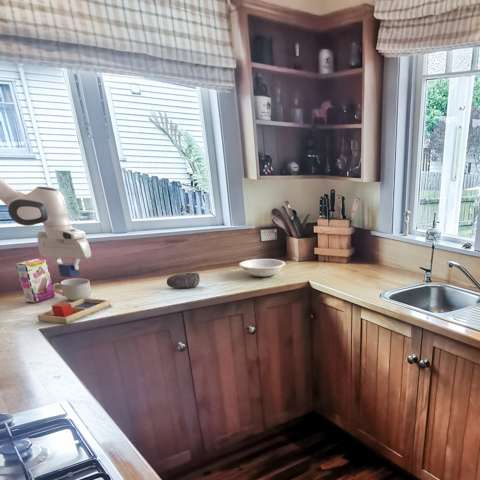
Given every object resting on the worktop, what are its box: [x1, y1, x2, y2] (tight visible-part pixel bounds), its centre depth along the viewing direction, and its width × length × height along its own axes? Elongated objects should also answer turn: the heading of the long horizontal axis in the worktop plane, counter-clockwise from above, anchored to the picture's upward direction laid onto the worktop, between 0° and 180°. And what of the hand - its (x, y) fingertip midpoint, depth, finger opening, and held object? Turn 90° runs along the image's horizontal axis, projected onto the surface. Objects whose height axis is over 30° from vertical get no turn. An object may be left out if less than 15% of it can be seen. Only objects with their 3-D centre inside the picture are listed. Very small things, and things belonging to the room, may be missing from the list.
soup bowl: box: [238, 258, 286, 278], centre depth 249 cm, size 24×24×7 cm
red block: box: [51, 302, 73, 317], centre depth 179 cm, size 4×4×4 cm
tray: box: [37, 297, 112, 325], centre depth 185 cm, size 12×24×2 cm, turn 169°
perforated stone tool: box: [166, 272, 201, 289], centre depth 222 cm, size 15×5×7 cm, turn 108°
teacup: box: [52, 277, 92, 302], centre depth 201 cm, size 14×11×8 cm
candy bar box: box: [15, 258, 56, 304], centre depth 197 cm, size 11×5×16 cm, turn 172°
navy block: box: [57, 262, 80, 278], centre depth 182 cm, size 4×4×4 cm
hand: (69, 269), depth 182 cm, fingers closed on navy block, 4 cm apart
